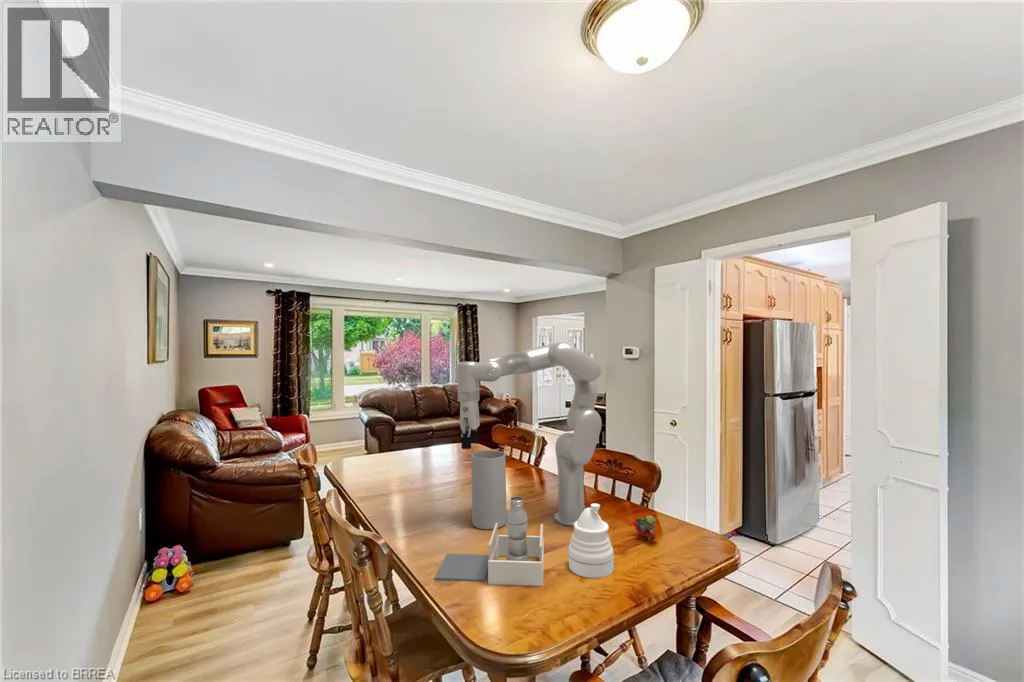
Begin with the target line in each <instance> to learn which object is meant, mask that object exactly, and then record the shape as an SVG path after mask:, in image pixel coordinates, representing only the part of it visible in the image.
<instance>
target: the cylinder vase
mask: <svg viewBox="0 0 1024 682" xmlns="http://www.w3.org/2000/svg"><path fill="white" fill-rule="evenodd" d="M470 459H471V461H470V462H471V464H470V465H471V468H470V469H471V521H472V522H471V523H472V525H473V526H474V527H475V528H477V529H480V530H484V529H485V530H487V531H488V530H490V529H491V530H494V527H495V524H496V523H498V529H500V528H502V527H504V526H505V525H507V522H506V516H507V475H506V474H507V472H506V471H507V469H506V468H507V467H506V462H507V461H506V453H505V452H504V451H500V450H482V451H475V452H473V453H471V456H470ZM491 530H490V531H491Z"/></svg>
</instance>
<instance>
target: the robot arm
mask: <svg viewBox="0 0 1024 682" xmlns="http://www.w3.org/2000/svg"><path fill="white" fill-rule="evenodd" d="M555 367H563V368H564V369H565V370H567V371H568V374H569V376H570V377H571V378H572V381H573V384H574V393H573V398H572V401H571V404H570V407H569V409H568V414H567V415H566V416H567V417H566V424H567V426H568V427H569V428H570V429H572V430H573V432H565V433H562V434H560V435H559V436H558V437H557V438H556V441H555V446H554V447H555V455H556V463H557V464H556V465H557V499H558V500H557V501H558V502H557V503H558V504H557V505H558V507H557V508H558V512H556V513H555V514H554V516H553V517H554V521H555V522H557V523H558V524H561V525H563V526H568V527H569V526H571V527H574V523H575V522H576V521H577V520H578V519H579V517H580V515H581V514H582V512H583V511H584V510H585V509H586V508H587V507H586V505H585V483H584V481H585V480H584V477H585V476H584V465H586V464H588V463H589V462H590V461H591V460H592V458H593V456H594V453H595V450H596V448H597V443H598V440H599V437H600V434H601V431H602V425H603V424H602V423H603V422H602V417H601V416H600V413H598V411H596V409H595V407H596V402H597V399H598V393H599V392H598V391H599V389H598V383H597V380H598V379H599V377H600V376H601V373H602V369H601V368H602V367H601V365H600V363H599V362H598V360H597V359H595V358H593V357H592V356H590V355H588V354H587V353H584V352H583V351H582V350H580V349H578V348H576V347H575V346H573V345H572V344H569V343H567V342H554V343H549V344H545V345H541V346H536V347H533V348H527V349H524V350H519V351H517V352H513V353H509V354H505V355H502V356H498V357H493V358H488V359H485V360H481V361H478V362H477V361H460V362H458V364H457V369H456V370H457V371H456V372H457V374H456V375H457V402H458V403H459V402H460V406H459V425H460V430H461V431H460V433H461V435H460V440H461V449H462V450H470V449H472V444H477V443H478V428H479V427H480V409H479V401H480V382H487V383H489V382H490V383H491V382H496V381H498V380H499V379H500V378H501V377H505V376H511V375H520V374H521V375H524V374H530V373H535V372H537V371H543V370H546V369H550V368H555Z"/></svg>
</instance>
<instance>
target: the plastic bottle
mask: <svg viewBox="0 0 1024 682" xmlns="http://www.w3.org/2000/svg"><path fill="white" fill-rule="evenodd" d="M509 505H510V506H509V507H510V508H509V510H507V512H506V529H507V535H508V552H507V556H506V560H505V561H530V559H529V558H530V557H528V552H527V542H526V536H527V534H528V533H527V530H528V521H529V520H528V519H529V516H528V513H527V511H526V509H525V508H524V498H523V497H521V496H512V497H510V503H509Z"/></svg>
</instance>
